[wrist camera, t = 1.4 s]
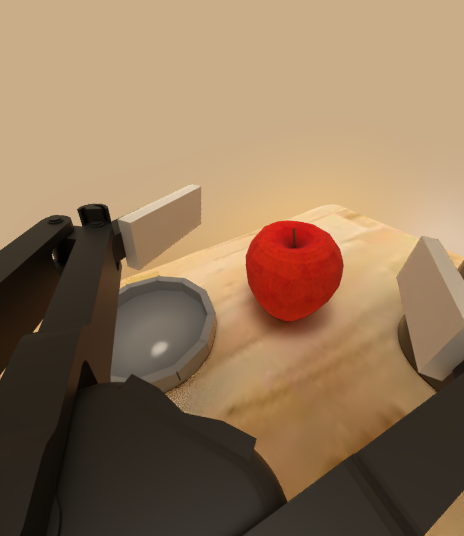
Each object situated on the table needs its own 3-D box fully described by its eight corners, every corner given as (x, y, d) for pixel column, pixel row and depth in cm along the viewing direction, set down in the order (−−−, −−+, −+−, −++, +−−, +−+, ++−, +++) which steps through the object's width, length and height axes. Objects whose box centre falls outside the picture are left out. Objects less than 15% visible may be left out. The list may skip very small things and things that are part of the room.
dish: (196, 275, 42) (194, 261, 40) (233, 366, 29) (232, 352, 27) (93, 303, 38) (84, 290, 36) (79, 425, 25) (65, 414, 23)
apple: (334, 293, 37) (359, 214, 29) (319, 356, 29) (347, 273, 21) (262, 273, 42) (265, 200, 33) (233, 324, 34) (226, 245, 25)
